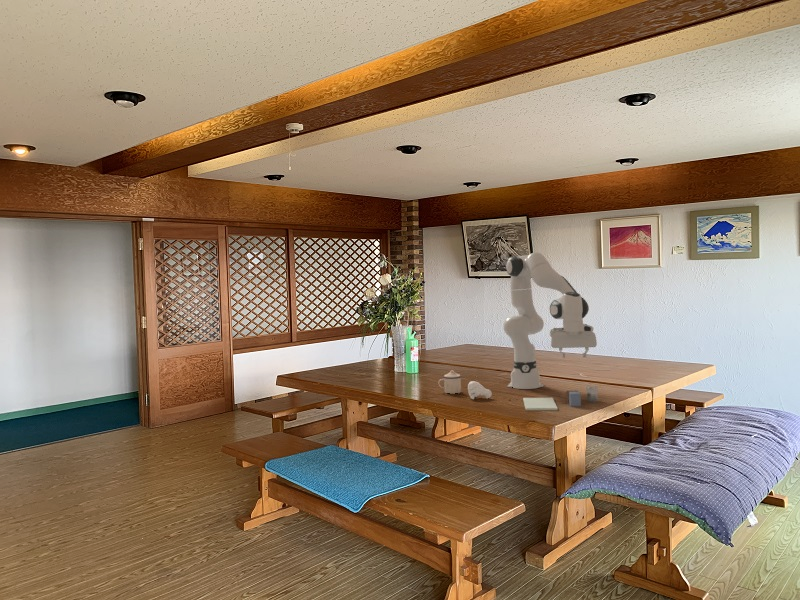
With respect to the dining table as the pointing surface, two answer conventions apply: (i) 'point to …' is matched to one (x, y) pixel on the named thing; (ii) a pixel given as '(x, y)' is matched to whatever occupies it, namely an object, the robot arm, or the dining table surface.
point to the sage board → (539, 404)
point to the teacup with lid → (451, 383)
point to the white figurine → (478, 390)
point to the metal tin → (592, 393)
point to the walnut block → (568, 395)
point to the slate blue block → (575, 398)
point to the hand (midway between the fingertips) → (573, 357)
